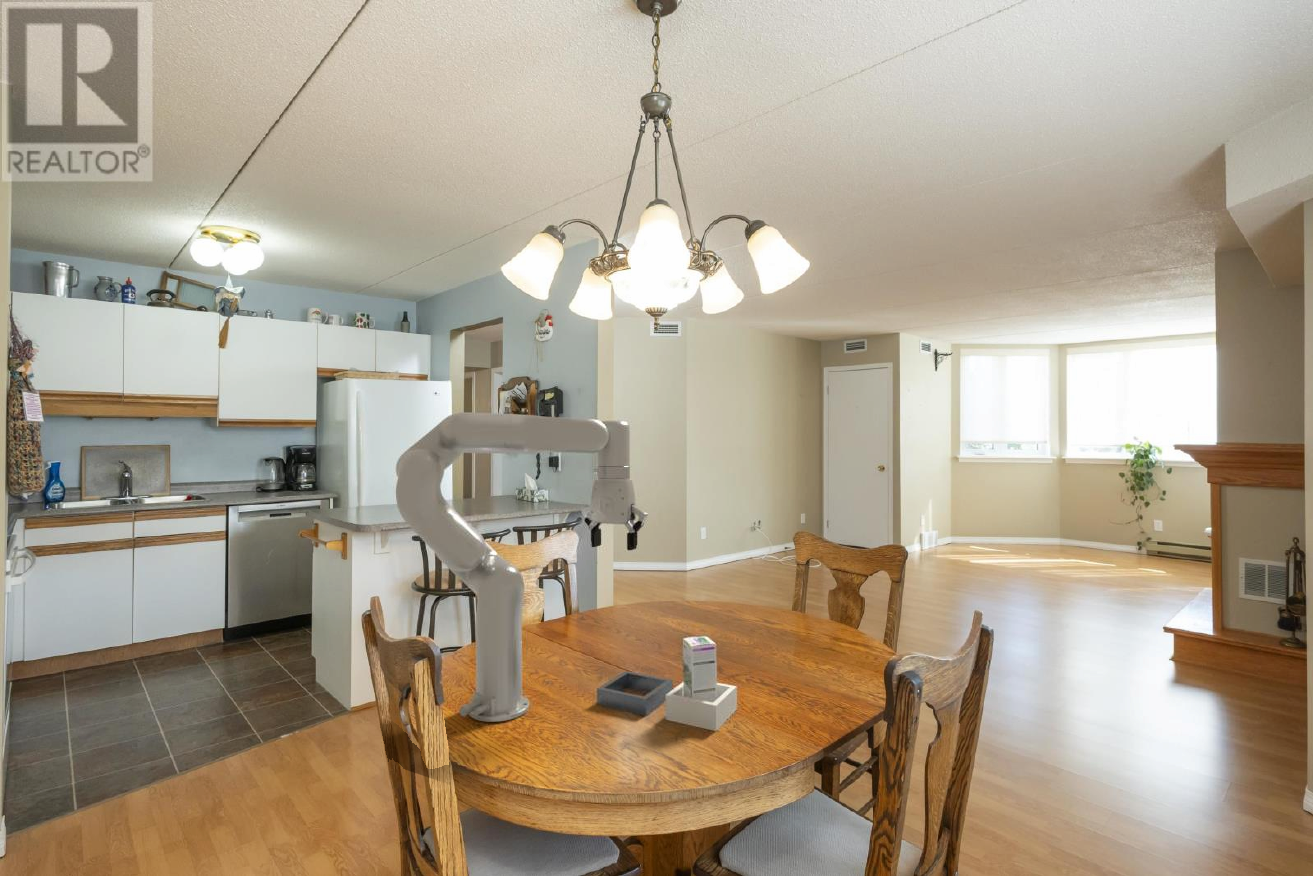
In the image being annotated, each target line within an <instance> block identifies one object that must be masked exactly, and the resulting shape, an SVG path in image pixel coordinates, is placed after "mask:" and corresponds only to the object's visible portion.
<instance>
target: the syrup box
mask: <svg viewBox="0 0 1313 876" xmlns="http://www.w3.org/2000/svg"><path fill="white" fill-rule="evenodd" d="M682 665H683V668H682V669H683V670H682V671H683V681H682V682H683V683H684V697H688V698H693V699H698V700H703V701H708V702H714V701H716V700H717V683H718V674H717V672H718V671H717V670H718V669H717V668H718V667H717V666H718V665H717V643H715V642H714V641H713V640H712V639H711V638H710V637H708V636H707V635H697V636H690V637H685V638H682Z"/></svg>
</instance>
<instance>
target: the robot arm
mask: <svg viewBox="0 0 1313 876" xmlns="http://www.w3.org/2000/svg"><path fill="white" fill-rule="evenodd" d="M433 427H434V428H432V429H431V430H430V431H428V432H427V433H426V434H425V435H424V436H422V437H421V438H420V439H419V440H417V441H416V442H414V444H413V445H411V446H410V447H408V449H407V450H405V451H404V452H403V453H401V455H400V456H399V457H398V459H397V462H396V465H395V473H396V476H397V481H396V486H395V499H396V500H395V501H396V505H397V508H398V510H399V514H400V516H401V517H402V519H403V520H404V522H405V523H406V524H407V525H408V527H410V529H412V531H413V532H414V533H415V534H416V535H417V536H418V537H419V538H420V539H421V540H422V541H423V542H424V543H425V544H426V545H428V547H429V548H430V549H432V551H433V552H434V554H435V555H436V558H437V559H438V560H439V561H441V562H442V564H443V565H445V566H446V568H447V569H448V570H450V571H451V572H452V573H453V574H454V575H455V576H457V578H459V579H460V580H461V582H463V583H464V584H465V585H466V586H467V587H468V588H469V589H470V590H471V591H472V592H473V593H474V594H475V595H476V596H477V605H476V614H475V692H474V693H472V699H471V700H470V701H469V703H466V704H464V705H462V706H460V707H459V709H458V710H459V714H460V716H461V717H465V716H467V715H469V716H470V717H471V719H473V720H476V721H479V722H487V723H498V722H505V721H510V720H514V719H516V718H518V717H521V716H523V715H525V714H526V713H527V712H528V711H529V709H530V700H529V699H528V698H527V697H526V696H525V695H524V694H523V634H522V633H523V632H522V631H523V628H522V627H523V609H524V607H523V606H524V598H525V582H524V578H523V576H522V575H523V574H522V573H521V571H520V570H519V569H518V568H517V566H516V565H514V564H513V563H512V562H510V561H509V560H507V559H504V558H503V557H502V556H501V555H500V554H499V553H498V552H497V551H496V550H495V549H494V548H493V547H492V546H491V545H489V543H488V542H487V541H486V540H485V539H484V537H483V535H482V534H481V532H480V531H479V530H478V529H477V528H475V527H474V526H472V525H471V524H469V522H467V521H466V520H465V519H464V518H463V516H461V515H460V513H458V512H457V511H456V509H454V507H453V506H452V505H451V504H449V502H448V501H447V500H446V499H445V498H444V496H443V494H442V489H441V484H442V481H443V478H444V475H445V471H446V470H447V468H449V467H450V466H451V465H452V464H453V463H454V462H456V461H457V460H458V459H459V458H460V457H461V456H462V455H463V454H464V453H465V454H505V455H506V454H513V455H515V454H516V455H517V454H518V455H519V454H521V455H526V454H527V455H533V454H535V455H536V454H542V453H547V454H548V453H564V454H565V453H571V454H572V453H573V454H575V453H576V454H595V453H597V454H596V455H597V456H596V457H597V460H596V464H597V465H596V466H597V467H596V468H594V469H593V474H594V475H596V479H594V480H593V484H592V489H591V495H590V505H589V506H586V507H585V508H583V509H582V510H581V515H582V516H583V520H584V523H585V524H586V525H587V527H588V530H590V542H591V543H590V544H591V548H596V547H600V546H601V545H602V529H601V528H600V527H601V525H603V524H604V525H605V524H607V525H608V524H609V525H624V526H625V528H626V529H627V530H628V532H627V534H626V549H627V551H633V550H634V551H635V550H636V549H637V548H638V547H637V546H638V532H640V530H641V529H642V527H644V525H645V523H646V520H647V518H648V513H647V512H646V511H644V510H643V509H641V508H639V507H638V506H636V505H637V504H636V493H635V489H634V482H633V479H631V476H630V475H631V473H630V471H631V469H630V468H631V464H630V461H631V459H630V455H631V453H630V452H631V451H630V450H631V449H630V445H631V441H630V440H631V437H630V435H631V433H630V430H631V429H630V425H629V423H628V422H627V421H626V420H603V421H601V420H599V419H596V418H587V417H586V418H585V417H582V418H581V417H559V416H540V415H532V414H521V413H520V414H517V413H515V414H514V413H512V414H511V413H492V412H491V413H488V412H468V411H467V412H466V411H465V412H463V411H462V412H458V413H453V414H450V415H448V416H446V417H444V418H443V419H442V420H441V421H440V422H439V423H438V424H436V426H433ZM636 516H638V520H637V521H636Z"/></svg>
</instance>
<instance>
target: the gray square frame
mask: <svg viewBox="0 0 1313 876" xmlns="http://www.w3.org/2000/svg"><path fill="white" fill-rule="evenodd" d="M673 683H674V680H673V679H670V678H663V677H659V676H656V675H655V676H654V675H648V674H644V673H639V672H634V671H629V670H625V671H624V672H622V673H620V674H619V675H616V676H615V677H614V678H612V679H610V680H609V681H607V682H605V683H604V684H602V685H600V686H599V687H597V688H596V706H600V707H603V706H604V708H609V709H612V710H617V711H622V712H626V713H630V714H635V715H638V714H640V716H642V717H647V716H649V715H650V714H652V712H654V711H655V710H656V709H657V708H659V707H660V706H662V705H663V704H664V703H665V702H666V694H668V693H669V692H670V691H672V690H673V689H674V684H673ZM627 689H629V690H633V691H634V690H635V691H639V692H643V691H645V692H644V693H647V692H649V693H647V694H645V696H644V695H638V694H633V693H631V692H630V693H628V692H625V691H626V690H627ZM664 701H665V702H664ZM659 705H660V706H659ZM653 710H654V711H653Z"/></svg>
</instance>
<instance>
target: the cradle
mask: <svg viewBox="0 0 1313 876" xmlns="http://www.w3.org/2000/svg"><path fill="white" fill-rule="evenodd" d="M736 710H737V711H738V686H736V685H731V684H727V683H720V682H717V700H716V701H714V702H708V701H703V700H698V699H693V698H688V697H684V683H683V681H682V682H681V683H680V684H679V685H677V686H675V687H673V690H672V691H670V692H669V693H668V694H666V701H665V720H666V721H671V722H674V723H679V724H684V725H687V726H693V727H696V728H700V729H706V730H710V731H713V732H717V731H719V729H720V728H721V727H722V726H723V725H724V724H725V723H726V722H727V721H728V720H729V719H730V718H731V717H732V716H733V715H734V714H735V713H736V712H737V711H736ZM735 711H736V712H735ZM734 712H735V713H734ZM732 714H733V715H732ZM730 716H731V717H730ZM727 719H728V720H727Z"/></svg>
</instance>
